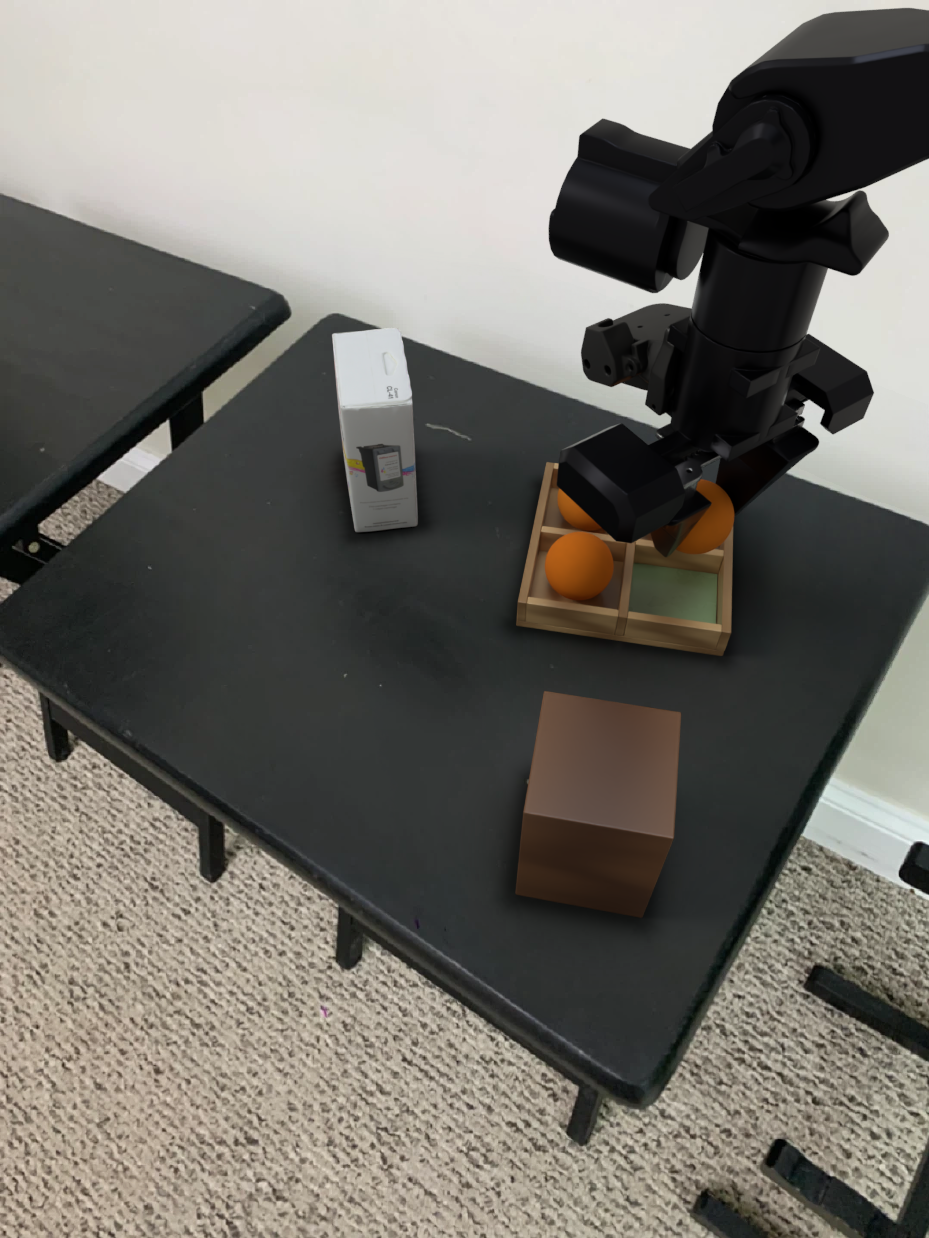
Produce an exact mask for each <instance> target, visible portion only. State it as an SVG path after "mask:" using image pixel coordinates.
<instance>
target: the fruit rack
mask: <svg viewBox="0 0 929 1238" xmlns="http://www.w3.org/2000/svg"><path fill="white" fill-rule="evenodd" d="M558 464H559V462H558V463H557V462H549V461H546V462H545V467H544V473H543V476H542V482H541V487H540V491H539V496H538V502H537V505H536V510H535V516H534V521H533V525H532V530H531V535H530V540H529V545H528V549H527V554H526V560H525V564H524V569H523V574H522V579H521V583H520V589H519V594H518V599H517V609H516V623H515V624H516V626H517V627H524V628H531V629H536V630H544V631H550V632H556V633H557V632H558V633H564V634H570V635H577V636H583V637H591V638H597V639H604V640H612V641H617V642H618V641H619V642H623V643H631V644H637V645H645V646H652V647H657V648H663V649H670V650H678V651H684V652H691V653H698V654H703V655H704V654H705V655H711V656H718V657H723V656H724V654H725V651H726V648H727V646H728V643H729V640H730V638H731V636H732V614H733V612H732V611H733V610H732V609H733V567H734V566H733V565H734V564H733V560H734V559H733V558H734V526H733V527H732V530H731V532H730V534H729V536H728V537H727V539H726V540H725V541H724V542H723V543H722V544H721V545H720V546H718V547H717V548H715V549H714V550H712V551H709V552H707V553H703V554H686V553H683V552H680V551H678V550H675V551H674V552H673V553H672V554H671V555H670V556H668V557H664V556H663V555H662V554H661V553H660V552H658V551H657V550H656V549H655V547H654V544H653V540H652V537H651V534H648V535H646V536H644V537H642V538H640V539H639V540H637V541H635V542H633V543H625V542H617V541H615V540H614V539H613V538H612V537H611V536H610V535H609V534H608V533H607V532H606V531H605V530H603V529H602V528H601V529H597V530H591V531H587V530H581V529H578V528H576V527H574V526H572V525H571V524H569V523H568V522H567V521H566V520H565V519H564V517H563V516H562V514H561V512H560V510H559V507H558V500H557V498H558V491H559V487H558V486H557V474H558ZM573 532H586V533H590V534H593V535H595V536H597V537H598V538H600V539H601V540H602V541H603V542H604V543H605V544H606V545H607V546H608V548H609V550H610V552H611V554H612V557H613V564H614V568H613V574H612V578H611V580H610V582H609V584H608V585H607V587H606V588H605V589H604V590H603V591H602V592H601V593H600V594H598V595H597V596H595V597H593V598H590V599H586V600H572V599H568V598H565V597H563V596H561V595H560V594H559V593H557V592H556V591H555V590H554V589H553V588H552V587H551V585H550V584H549V582H548V579H547V577H546V573H545V560H546V556H547V553H548V551H549V549H550V548H551V546H552V545H553V544H554V543H555V542H556V541H557V540H558V539H559V538H561V537H562V536H564V535H566V534H569V533H573Z"/></svg>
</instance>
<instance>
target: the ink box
mask: <svg viewBox="0 0 929 1238" xmlns="http://www.w3.org/2000/svg"><path fill="white" fill-rule="evenodd" d="M331 339H332V349H333V361H334V362H333V363H334V373H335V376H334V377H335V385H336V397H337V408H338V418H339V427H340V428H339V429H340V437H341V444H342V452H343V454H342V455H343V461H344V468H345V476H346V482H347V489H348V496H349V503H350V507H351V508H350V509H351V514H352V515H351V516H352V522H353V528H354V531H355V533H368V532H377V531H386V530H393V529H401V528H402V529H403V528H411V527H412V528H413V527H417V526H418V524H419V515H418V512H419V511H418V491H417V472H416V471H417V469H416V449H415V448H416V447H415V429H414V410H413V409H414V408H413V407H414V406H413V391H412V387H411V379H410V375H409V372H408V363H407V357H406V354H405V346H404V342H403V337H402V331H401V330H400V328H399V327H398V328H397V327H385V328H384V327H383V328H376V329H367V330H359V331H358V330H357V331H344V332H333V333H332V334H331Z"/></svg>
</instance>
